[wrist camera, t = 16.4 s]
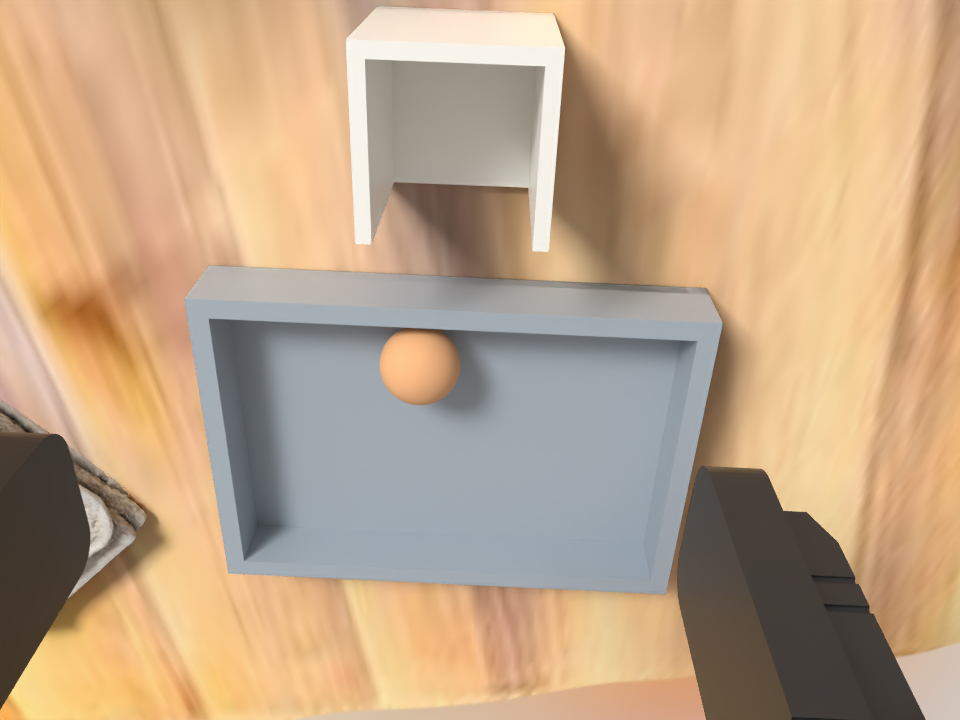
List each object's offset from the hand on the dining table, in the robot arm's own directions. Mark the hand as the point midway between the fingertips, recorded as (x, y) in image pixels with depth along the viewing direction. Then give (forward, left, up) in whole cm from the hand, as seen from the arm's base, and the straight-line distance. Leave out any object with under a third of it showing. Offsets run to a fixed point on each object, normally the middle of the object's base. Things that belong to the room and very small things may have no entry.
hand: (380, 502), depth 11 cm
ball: (+1, +10, -20) cm, 22 cm away
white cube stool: (0, 0, -22) cm, 22 cm away
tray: (0, +14, -22) cm, 26 cm away
